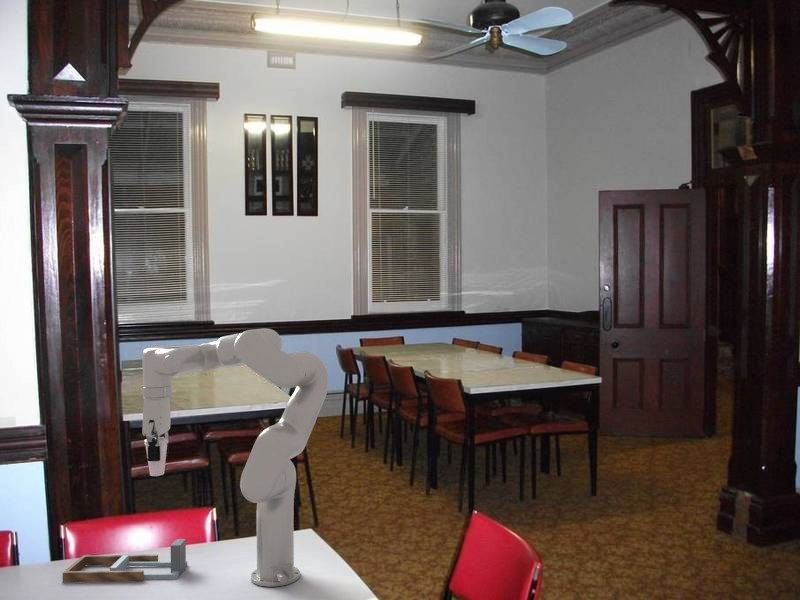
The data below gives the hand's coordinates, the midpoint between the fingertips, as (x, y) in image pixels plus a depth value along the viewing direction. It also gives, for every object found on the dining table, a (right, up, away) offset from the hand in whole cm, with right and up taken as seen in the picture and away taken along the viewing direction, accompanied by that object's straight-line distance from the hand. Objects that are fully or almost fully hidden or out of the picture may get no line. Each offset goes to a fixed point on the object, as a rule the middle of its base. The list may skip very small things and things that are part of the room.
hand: (158, 457), depth 198 cm
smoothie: (0, -5, 0) cm, 5 cm away
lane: (-10, -30, -6) cm, 32 cm away
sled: (0, -29, -6) cm, 30 cm away
